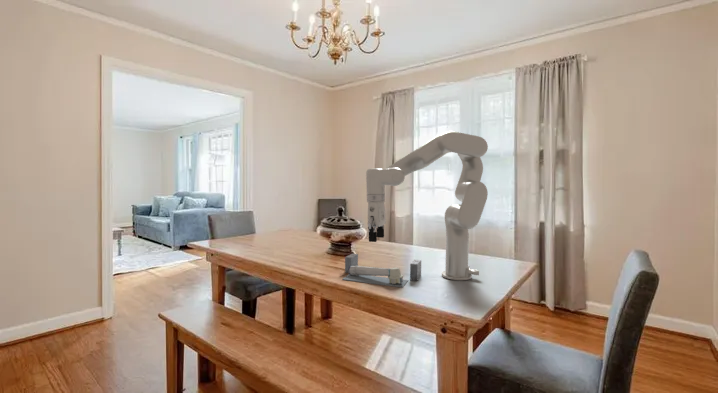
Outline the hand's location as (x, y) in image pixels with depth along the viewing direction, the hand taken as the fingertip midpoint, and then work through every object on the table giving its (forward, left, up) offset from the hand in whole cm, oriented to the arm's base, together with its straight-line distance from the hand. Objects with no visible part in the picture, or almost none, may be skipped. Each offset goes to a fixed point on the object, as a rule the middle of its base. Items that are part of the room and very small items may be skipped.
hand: (376, 239), depth 141 cm
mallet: (+1, 0, -17) cm, 17 cm away
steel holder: (0, -10, -17) cm, 20 cm away
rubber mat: (0, 0, -17) cm, 17 cm away
